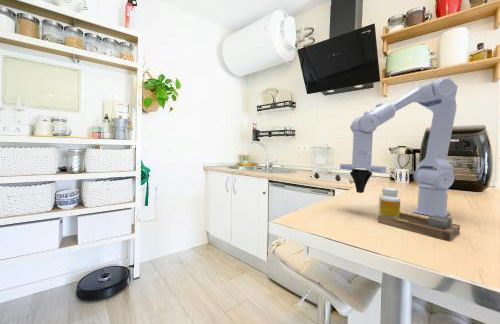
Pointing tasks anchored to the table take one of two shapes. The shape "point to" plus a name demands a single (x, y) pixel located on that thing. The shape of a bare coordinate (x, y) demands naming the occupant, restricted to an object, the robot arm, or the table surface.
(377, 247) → the table surface
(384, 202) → the supplement bottle
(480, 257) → the table surface
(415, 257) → the table surface
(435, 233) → the beam
